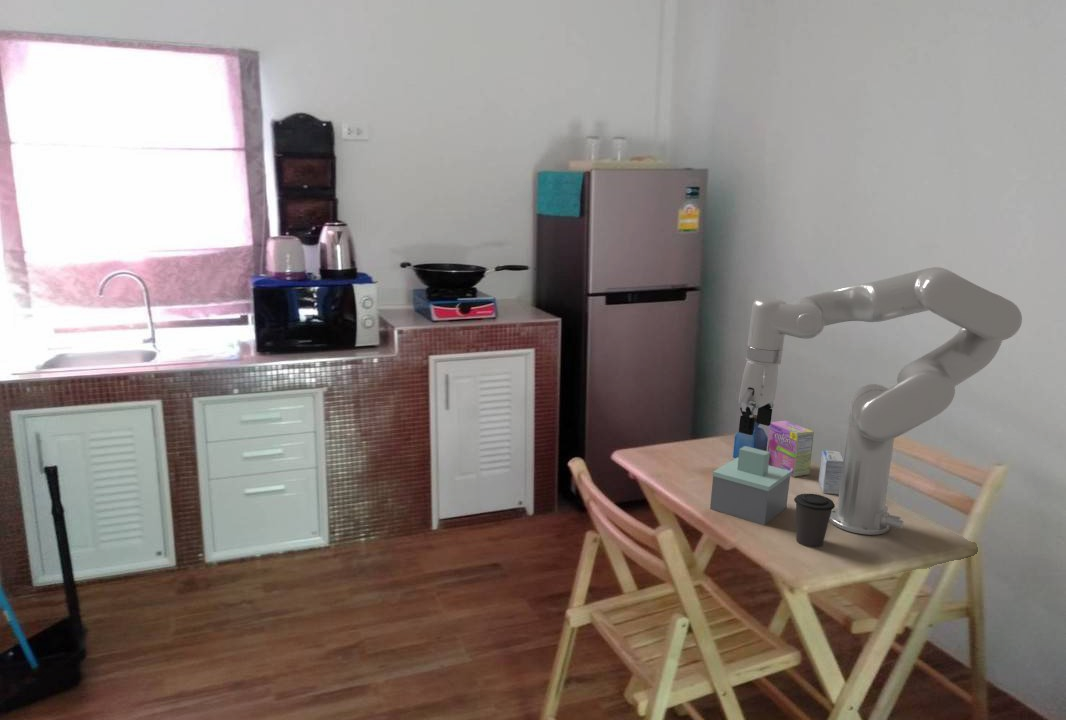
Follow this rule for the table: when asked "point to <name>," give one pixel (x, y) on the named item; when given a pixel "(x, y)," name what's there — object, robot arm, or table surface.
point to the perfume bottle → (750, 440)
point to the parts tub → (749, 500)
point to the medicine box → (830, 472)
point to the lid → (752, 470)
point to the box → (790, 447)
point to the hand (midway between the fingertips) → (754, 428)
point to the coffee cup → (812, 518)
